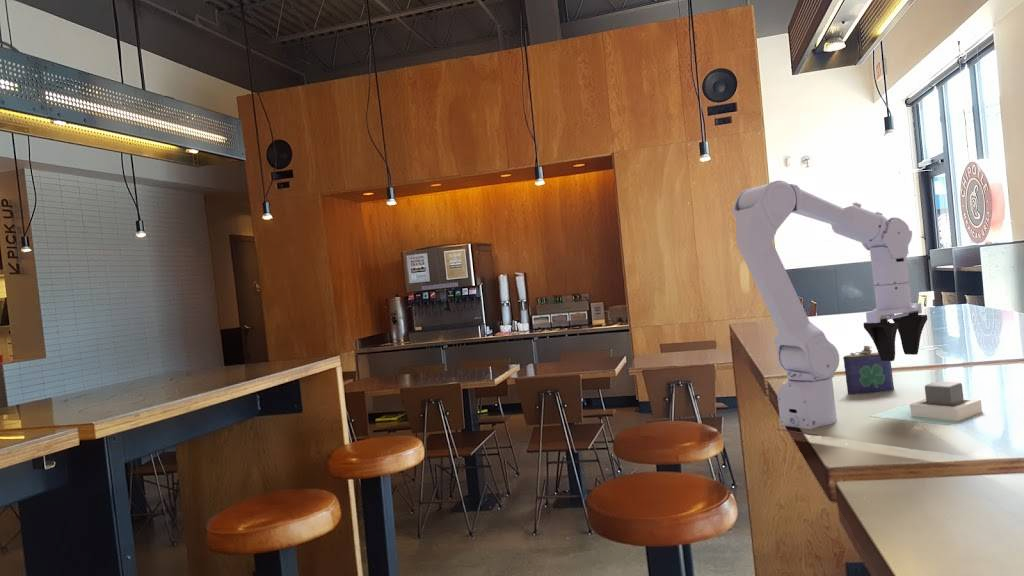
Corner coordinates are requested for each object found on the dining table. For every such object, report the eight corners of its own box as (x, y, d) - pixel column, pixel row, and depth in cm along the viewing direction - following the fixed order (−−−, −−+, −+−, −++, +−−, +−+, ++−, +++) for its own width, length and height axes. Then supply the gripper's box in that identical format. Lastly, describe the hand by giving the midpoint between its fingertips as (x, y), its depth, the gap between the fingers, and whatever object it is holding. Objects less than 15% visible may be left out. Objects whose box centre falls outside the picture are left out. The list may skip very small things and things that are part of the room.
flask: (891, 393, 143) (885, 342, 143) (898, 396, 140) (892, 343, 140) (846, 398, 143) (840, 347, 143) (852, 401, 140) (846, 348, 140)
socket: (958, 420, 112) (957, 408, 112) (911, 415, 118) (909, 404, 118) (982, 411, 115) (980, 399, 115) (935, 407, 122) (933, 396, 122)
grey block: (952, 416, 114) (949, 386, 114) (927, 414, 117) (924, 385, 117) (965, 412, 116) (961, 382, 116) (940, 409, 119) (936, 381, 119)
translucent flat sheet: (948, 432, 110) (948, 424, 110) (870, 423, 121) (869, 416, 121) (983, 418, 116) (982, 411, 116) (905, 411, 127) (905, 404, 127)
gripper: (890, 286, 119) (899, 364, 120) (935, 278, 127) (943, 352, 127) (852, 288, 126) (860, 362, 126) (897, 281, 133) (905, 351, 133)
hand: (899, 357), depth 127 cm, fingers open, 7 cm apart
